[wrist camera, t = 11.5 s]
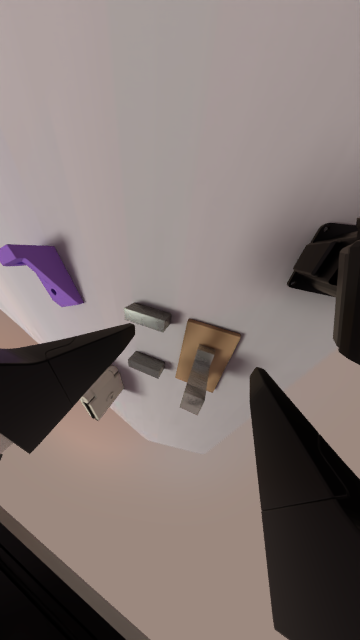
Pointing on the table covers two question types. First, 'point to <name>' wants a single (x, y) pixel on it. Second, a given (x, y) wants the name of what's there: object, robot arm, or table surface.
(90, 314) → the table surface
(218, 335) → the walnut pad
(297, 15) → the table surface
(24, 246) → the bracket
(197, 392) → the grey flared bar
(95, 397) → the hinge
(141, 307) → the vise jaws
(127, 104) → the table surface
